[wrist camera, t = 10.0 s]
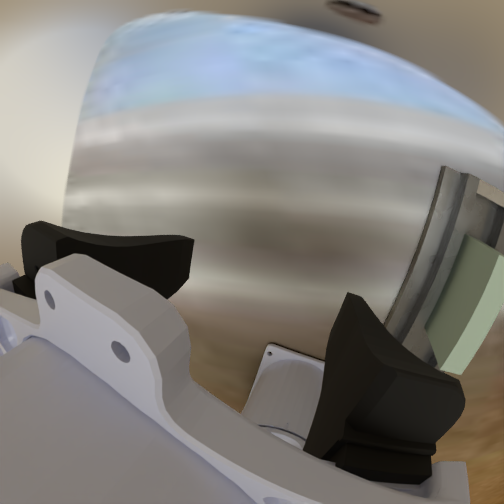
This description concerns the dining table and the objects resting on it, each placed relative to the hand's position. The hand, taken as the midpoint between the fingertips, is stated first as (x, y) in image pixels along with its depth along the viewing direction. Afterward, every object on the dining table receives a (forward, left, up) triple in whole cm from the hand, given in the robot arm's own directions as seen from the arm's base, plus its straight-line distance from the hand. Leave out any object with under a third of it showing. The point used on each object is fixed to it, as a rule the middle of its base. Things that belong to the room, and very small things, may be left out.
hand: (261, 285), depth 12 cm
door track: (-1, -13, -10) cm, 17 cm away
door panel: (+1, -13, -9) cm, 16 cm away
